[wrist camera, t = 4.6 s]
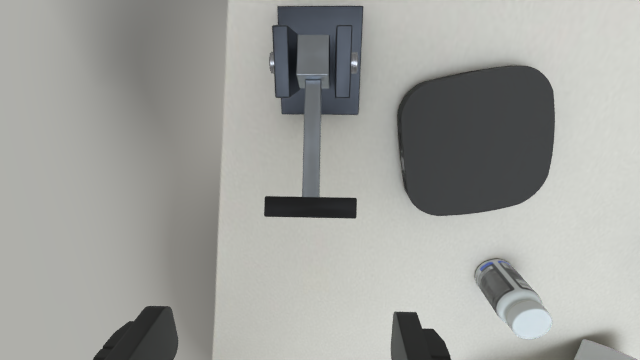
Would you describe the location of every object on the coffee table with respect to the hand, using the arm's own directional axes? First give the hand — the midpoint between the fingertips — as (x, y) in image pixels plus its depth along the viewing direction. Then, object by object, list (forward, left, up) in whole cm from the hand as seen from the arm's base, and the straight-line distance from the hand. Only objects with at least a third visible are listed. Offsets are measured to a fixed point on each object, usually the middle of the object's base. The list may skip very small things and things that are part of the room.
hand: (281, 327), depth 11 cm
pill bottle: (+22, -16, -26) cm, 38 cm away
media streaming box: (+16, +1, -26) cm, 31 cm away
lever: (0, +4, -14) cm, 14 cm away
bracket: (0, +9, -26) cm, 27 cm away
